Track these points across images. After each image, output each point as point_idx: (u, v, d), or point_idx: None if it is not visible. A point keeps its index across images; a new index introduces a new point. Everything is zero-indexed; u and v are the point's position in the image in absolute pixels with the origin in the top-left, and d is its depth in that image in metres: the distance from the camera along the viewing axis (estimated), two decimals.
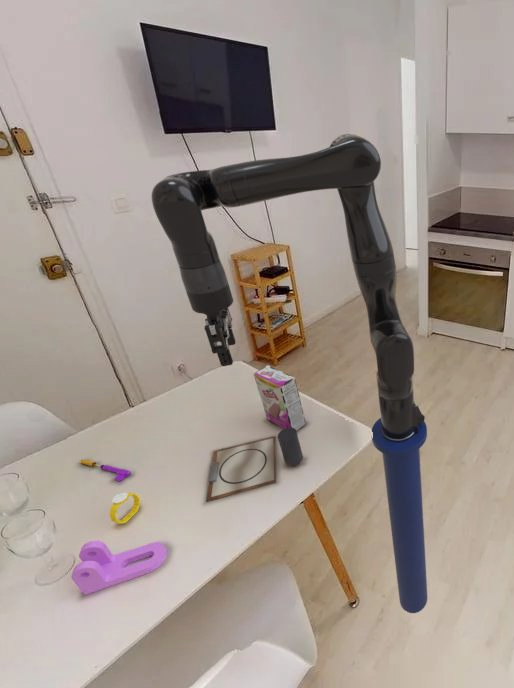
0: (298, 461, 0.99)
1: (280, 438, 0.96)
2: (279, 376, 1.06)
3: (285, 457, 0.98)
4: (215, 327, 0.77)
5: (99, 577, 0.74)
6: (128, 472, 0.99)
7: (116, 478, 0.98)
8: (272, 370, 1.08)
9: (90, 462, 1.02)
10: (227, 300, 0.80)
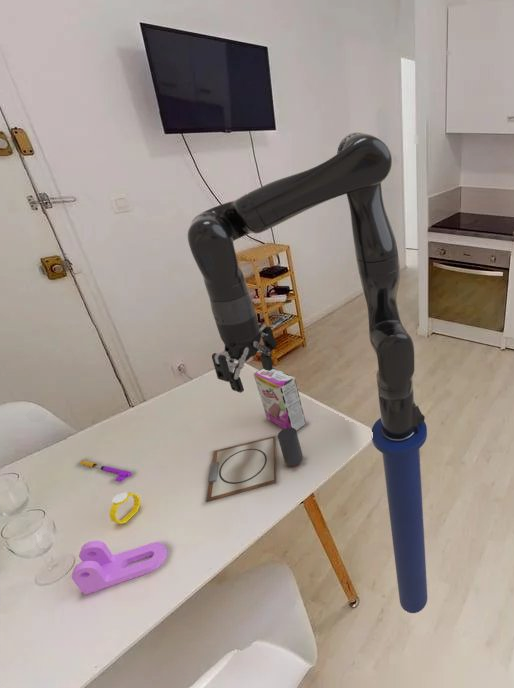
0: (298, 461, 0.99)
1: (280, 438, 0.96)
2: (279, 376, 1.06)
3: (285, 457, 0.98)
4: (218, 358, 0.79)
5: (99, 577, 0.74)
6: (129, 473, 0.99)
7: (117, 479, 0.98)
8: (272, 370, 1.08)
9: (91, 463, 1.02)
10: (241, 336, 0.81)
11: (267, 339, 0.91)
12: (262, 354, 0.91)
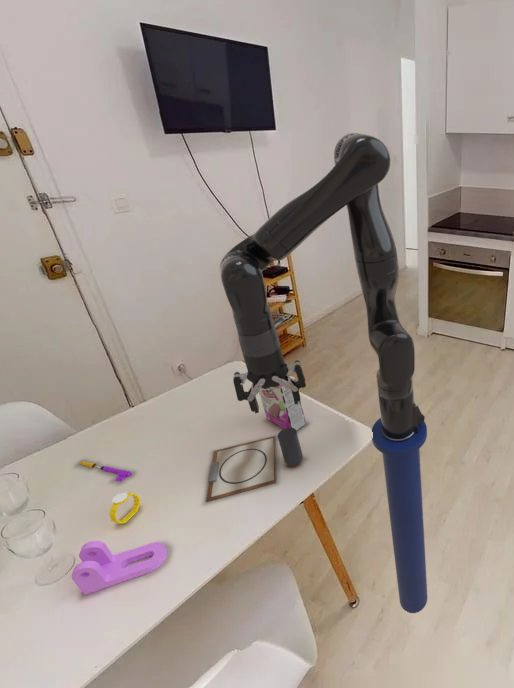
0: (298, 461, 0.99)
1: (280, 438, 0.96)
2: None
3: (285, 457, 0.98)
4: (233, 379, 0.86)
5: (99, 577, 0.74)
6: (129, 473, 0.99)
7: (117, 479, 0.98)
8: None
9: (90, 464, 1.02)
10: (252, 368, 0.83)
11: None
12: None
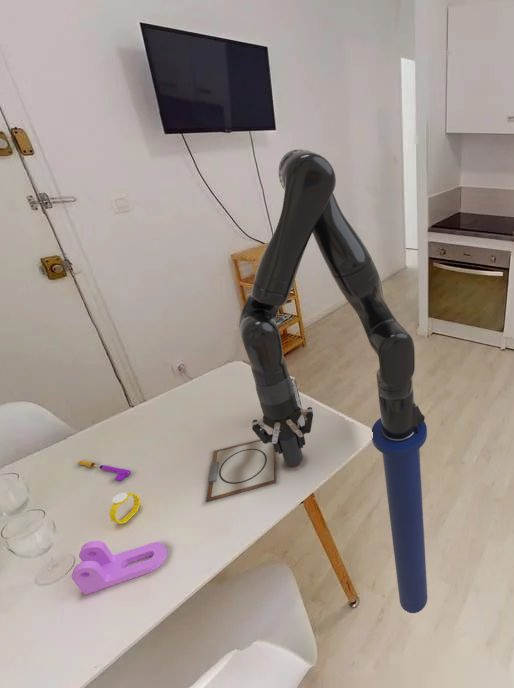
0: (298, 461, 0.99)
1: (280, 438, 0.96)
2: None
3: (285, 457, 0.98)
4: None
5: (99, 577, 0.74)
6: (128, 472, 0.99)
7: (116, 478, 0.98)
8: None
9: (89, 463, 1.01)
10: (269, 414, 0.89)
11: (306, 421, 0.97)
12: None
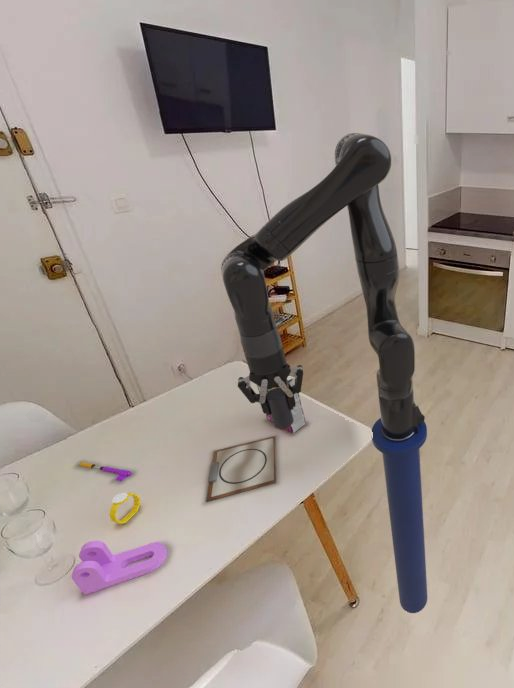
0: (288, 424, 0.93)
1: (268, 398, 0.90)
2: None
3: (274, 419, 0.92)
4: (238, 384, 0.86)
5: (99, 577, 0.74)
6: (129, 472, 0.99)
7: (117, 479, 0.98)
8: None
9: (89, 464, 1.01)
10: (255, 369, 0.83)
11: (296, 380, 0.91)
12: None
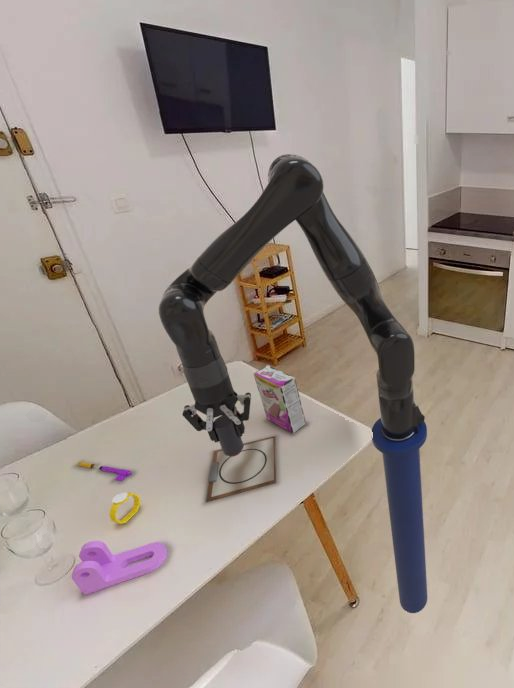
0: (237, 450, 0.93)
1: (215, 425, 0.90)
2: (279, 376, 1.06)
3: (222, 446, 0.92)
4: None
5: (99, 577, 0.74)
6: (129, 472, 0.99)
7: (117, 478, 0.98)
8: (272, 370, 1.08)
9: (88, 464, 1.01)
10: (198, 399, 0.83)
11: None
12: None
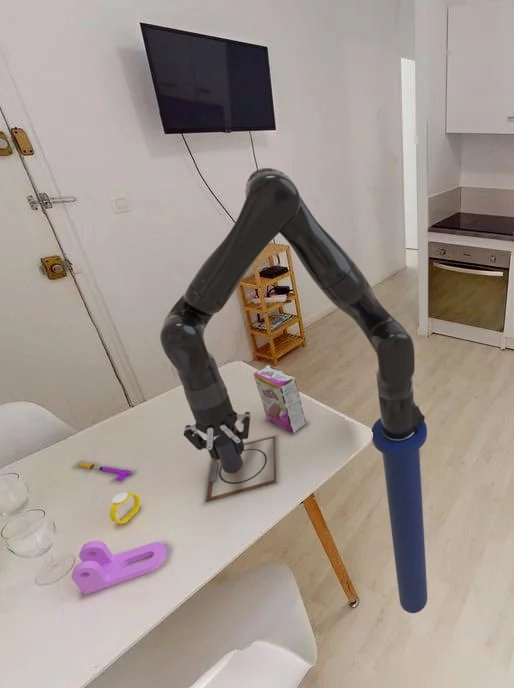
0: (237, 468, 0.96)
1: (215, 444, 0.92)
2: (279, 376, 1.06)
3: (222, 464, 0.94)
4: None
5: (99, 577, 0.74)
6: (129, 472, 0.99)
7: (117, 478, 0.98)
8: (272, 370, 1.08)
9: (88, 465, 1.01)
10: (199, 419, 0.85)
11: (243, 427, 0.93)
12: None
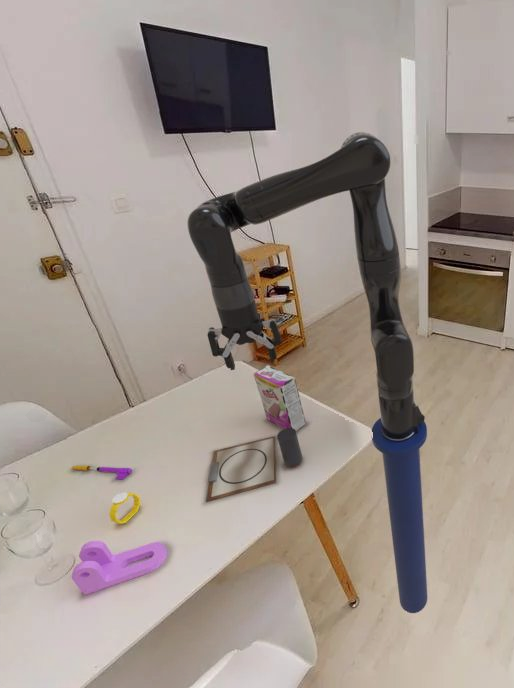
0: (297, 461, 0.99)
1: (279, 438, 0.96)
2: (279, 376, 1.06)
3: (284, 457, 0.98)
4: None
5: (99, 577, 0.74)
6: (129, 469, 0.99)
7: (118, 477, 0.98)
8: (272, 370, 1.08)
9: (84, 466, 1.00)
10: (226, 321, 0.84)
11: (273, 333, 0.91)
12: None
